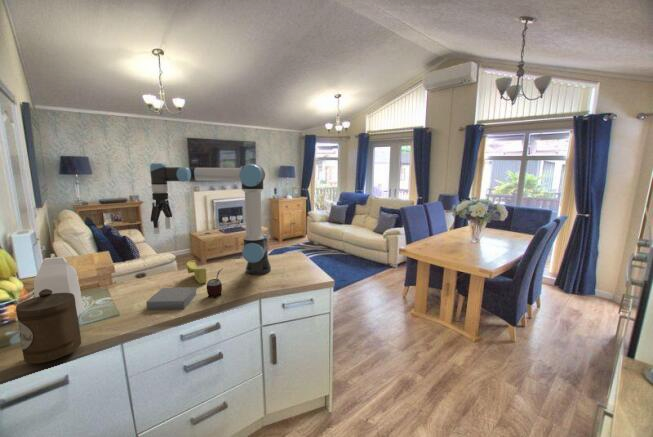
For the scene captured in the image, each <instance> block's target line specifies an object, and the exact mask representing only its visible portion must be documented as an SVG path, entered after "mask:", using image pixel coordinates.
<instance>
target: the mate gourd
mask: <svg viewBox="0 0 653 437" xmlns="http://www.w3.org/2000/svg"><path fill="white" fill-rule="evenodd" d="M223 270H224V268H221V269H219V270H218V271H217V275H216V278H211V279H209V280H208V281H207V282H206V291H207V292H206V293H207V297H208V298H212V297H213V299H216V298H217V297H218V296H219V297H220V296H222V291H223V288H222V287H223V284H222V281H221V280H220V279H219V278H218V277H219V274H220V272H221V271H223Z"/></svg>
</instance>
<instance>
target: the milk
mask: <svg viewBox="0 0 653 437" xmlns="http://www.w3.org/2000/svg"><path fill="white" fill-rule="evenodd" d="M44 289H49V290H52V294H54V293H72V294H74V297H75V303H76V310H77V316H78V317H79V316H80V315H82V312H83V311H84V310H85V309H84V302H83V297H82V293H81V288H80V283H79V278H78V273H77V270H76V268H75V267H73V266H72V265H71V264H70V263H69V262H68V261H67V260H66V258H65V257H64V256H56V257H46V258H44V259H43V260H42V263H41V265H40V267H39V269H38V272H37V273H36V276H35V277H34V279H33V290H34V298H35V297H38V296H39V292H40V291H41V290H44Z"/></svg>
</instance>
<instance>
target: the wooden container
mask: <svg viewBox="0 0 653 437" xmlns="http://www.w3.org/2000/svg"><path fill="white" fill-rule="evenodd" d="M15 312H16V318H17V324H18V332H19V339H20V344H21V349H22V350H21V351H22V356H23V360H24V362H26V363H29V364H42V363H47V362H51V361H56V360H58V359H61V358H63V357H66V356H67V355H69V354H72V353H73V352H75V351H76V350H77V349H78V348H79V347H80V346H81V345H82V336H81V330H80V323H79V316H77V310H76V303H75V297H74V294H72V293H54V294H52V290H49V289H44V290H41V291H40V292H39V296H38V297H35V296H34V297H32V298H29V299H27V300H24V301H22V302H20V303H18V304H17V305H16V306H15Z"/></svg>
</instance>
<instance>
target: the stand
mask: <svg viewBox="0 0 653 437" xmlns="http://www.w3.org/2000/svg"><path fill="white" fill-rule="evenodd" d="M196 296H197V287H196V286H194V287H193V286H191V287H189V286H188V287H187V286H186V287H179V286H178V287H162V288H161V289H160V290H158V291H157V292H156V293H154V295H153V296H151V297H150V298H149V299H148V300H146V310H147V311H157V310H159V311H160V310H161V311H163V310H164V311H165V310H185V309H186V307H188V305H189V304H190V303H191V302H192V301H193V299H195V297H196Z"/></svg>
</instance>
